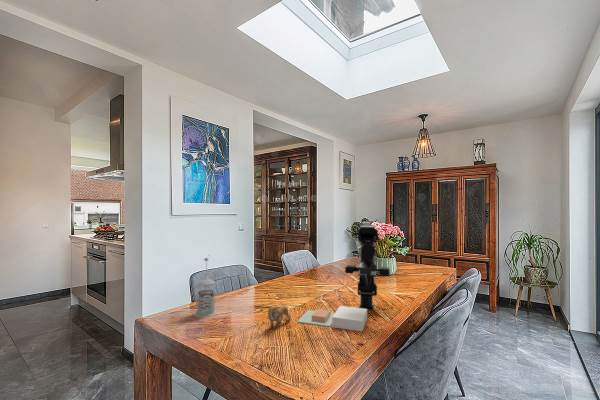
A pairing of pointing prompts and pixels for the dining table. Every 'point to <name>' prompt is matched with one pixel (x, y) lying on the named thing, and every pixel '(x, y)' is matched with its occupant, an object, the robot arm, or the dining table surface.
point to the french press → (205, 299)
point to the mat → (308, 320)
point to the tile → (321, 315)
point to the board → (350, 318)
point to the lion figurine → (277, 315)
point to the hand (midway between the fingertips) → (367, 290)
